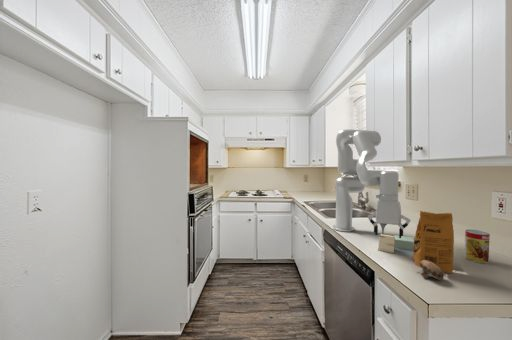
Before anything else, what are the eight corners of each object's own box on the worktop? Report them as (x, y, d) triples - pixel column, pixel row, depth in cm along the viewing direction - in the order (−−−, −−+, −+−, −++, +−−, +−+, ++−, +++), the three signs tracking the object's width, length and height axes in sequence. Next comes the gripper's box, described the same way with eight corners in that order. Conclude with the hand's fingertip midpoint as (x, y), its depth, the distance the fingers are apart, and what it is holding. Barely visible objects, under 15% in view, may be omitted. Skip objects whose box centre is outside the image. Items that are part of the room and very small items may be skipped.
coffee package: (411, 260, 108) (413, 208, 108) (447, 265, 104) (449, 211, 103) (415, 269, 99) (417, 212, 98) (455, 275, 94) (457, 215, 94)
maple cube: (380, 246, 123) (380, 234, 123) (394, 249, 120) (394, 236, 120) (378, 250, 118) (379, 237, 118) (393, 252, 115) (394, 239, 114)
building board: (380, 242, 132) (380, 240, 132) (415, 248, 125) (415, 246, 125) (377, 252, 118) (377, 250, 118) (416, 259, 110) (416, 257, 110)
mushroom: (412, 269, 92) (424, 255, 92) (413, 270, 98) (424, 257, 98) (436, 286, 87) (448, 272, 87) (435, 287, 93) (446, 273, 93)
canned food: (489, 264, 105) (490, 235, 105) (464, 260, 110) (465, 232, 110) (487, 259, 112) (488, 231, 111) (463, 254, 116) (465, 228, 116)
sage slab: (394, 243, 129) (394, 235, 129) (413, 245, 125) (413, 237, 125) (393, 247, 122) (393, 239, 122) (413, 250, 118) (413, 242, 118)
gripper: (366, 197, 119) (366, 235, 119) (411, 200, 110) (410, 240, 110) (369, 196, 125) (368, 231, 126) (410, 198, 117) (410, 236, 117)
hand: (388, 235), depth 118 cm, fingers open, 9 cm apart
